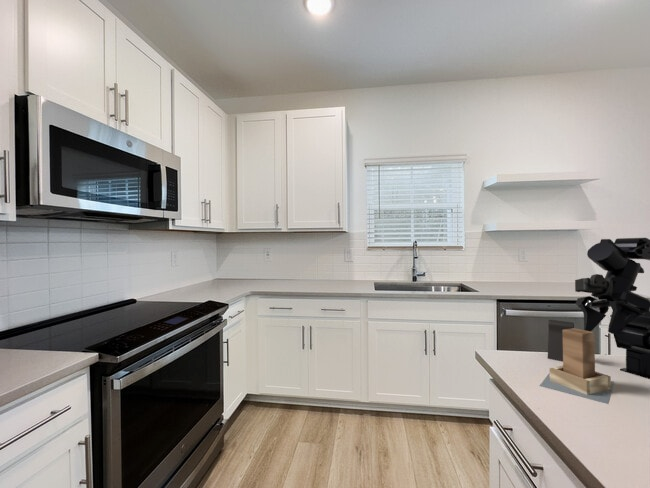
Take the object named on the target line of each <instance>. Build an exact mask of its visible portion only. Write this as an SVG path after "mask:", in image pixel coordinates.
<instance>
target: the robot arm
mask: <svg viewBox="0 0 650 488" xmlns="http://www.w3.org/2000/svg"><path fill="white" fill-rule="evenodd" d="M586 254H587V257H588V259H590V260H591V261H592V262H593V263H595V264H596V266H598V267H599V268H601V269H602V271H603V270H604V271H605V272H606V274H605V276H603V274H598V273H595V274H592V275H591V276H590V277H584V278H583V277H582V278H579V279H575V280H574V287H575V288H574V292H575V293H576V292H577V293H588V294H591V296H590V295H587V296H581V297H578V298H577V300H576V301H575V305H576V306H577V307H578V308H579V309H580V310H581V311H582V313H583V330H585V331H590V332H593V331H594V329H595V328H596V327H597V326H598V325H599V324H600V323H601V322H602V321H603V320H604V319H605V317H607V315H606V314H607V313H608V312H609V310H610V309H612V311H611V315H610V320H609V323H608V328H607V332H608V333H610V334H612V335H613V339H614V343H615V345H616V347H617V348H620V349H623V350H625V367H622V368H619V371H621V372H625V373H628V374H630V375H634V376H638V377H641V378H643V379H644V378H645V379H648V380H650V299H649V298H647V297H644V296H642V295H639V294H638V293H635V291H637V289H638V287H637V286H636V285H635V282H636V280H637V277H638V274H644V273H645V270H644V268H643V267H642V266H641V263H640V262H637V261H636V260H644V261H645V260H647V261H650V239H649V238H647V237H625V238H624V237H623V238H622V237H621V238H616V239H615V240H614V241H613V240H612V239H610V238H601V239H600V242H598V243H595V244H594V245H592V246H591V247H590V248H589V249H588V250H587V253H586ZM610 307H611V308H610Z"/></svg>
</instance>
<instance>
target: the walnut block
mask: <svg viewBox="0 0 650 488" xmlns="http://www.w3.org/2000/svg"><path fill="white" fill-rule="evenodd" d="M562 331H563V362H562V366H563V372H566V373H569V374H572V375H575V376H577V377H580V378H583V379H588V378H592V377H595V371H596V361H595V360H596V359H595V357H596V355H595V353H596V351H595V348H596V347H595V331H591V332H590V331H585V330H584V329H580V328H575V327H574V328H572V329H565V330H562Z"/></svg>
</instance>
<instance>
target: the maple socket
mask: <svg viewBox="0 0 650 488" xmlns="http://www.w3.org/2000/svg"><path fill="white" fill-rule="evenodd" d="M549 373H550V380H551V381H553V382H556V383H558V384H561V385H564V386H566V387H569V388H571V389H574V390H576V391H579V392H581V393H584V394H586V395H588V394H592V393H596V392H601V391H605V390H609V389H611V381H612V380H611V379H612V376H611V375H608V374H604V373H601V372H599V371H596V370H595V377H592V378H588V379H583V378H580V377H577V376H575V375H572V374H569V373H566V372H563V365H560V366H554V367H550V368H549Z"/></svg>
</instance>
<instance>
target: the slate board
mask: <svg viewBox="0 0 650 488" xmlns="http://www.w3.org/2000/svg"><path fill="white" fill-rule="evenodd" d="M614 382H615V381H613V380H611V389H609V390H605V391H601V392H596V393H592V394H588V395H586V394H584V393H581V392H579V391H576V390H574V389H571V388H569V387H566V386H564V385H561V384H558V383H556V382H553V381H551V380H550V372H549V373H548V374H547V375H546V377H544V379H543V380H542V381H541V383H540V384H539V385H538V386H539V387H542V388H545V389H550V390H554V391H557V392H561V393H564V394H568V395H572V396H576V397H580V398H584V399H586V400H591V401H595V402H599V403H603V404H606V405H609V402H610V399H611V394H612V391H613V386H614Z"/></svg>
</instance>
